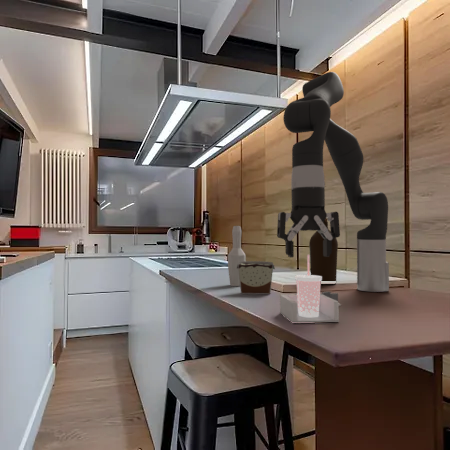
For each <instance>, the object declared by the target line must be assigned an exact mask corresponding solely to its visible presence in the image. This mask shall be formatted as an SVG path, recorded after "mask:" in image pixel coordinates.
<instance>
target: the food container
mask: <svg viewBox="0 0 450 450" xmlns="http://www.w3.org/2000/svg"><path fill="white" fill-rule="evenodd" d="M236 269H239V279H240V286H239V287H240V294H243V295H244V294H245V295H246V294H247V295H271V290H272V280H273V271H274V270H276V266H275V264H274V262H272V261H266V260H265V261H263V260H261V261H260V260H258V261H257V260H251V261H250V260H249V261H248V260H246V261H244V262H238V264H237V268H236Z"/></svg>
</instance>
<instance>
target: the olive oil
mask: <svg viewBox="0 0 450 450" xmlns="http://www.w3.org/2000/svg"><path fill="white" fill-rule="evenodd" d="M323 224H324V225H325V226H326V228H327V229H328V231H329V233H331V229H329V226H328V225H329V221H328V218H327V217H326V219H325V220H324V222H323ZM323 240H324V238H323V237H322V235H321V234H320V233H319V232H318V231H317V230H315V232H314V233H313V234H312V235H311V237H310V239H309V242H308V243H309V245H308V246H309V247H308V248H309V255H310V275H317V276H322V281H336V282H337V274H338V273H337V272H338V271H337V270H338V269H337V268H338V252H339V251H338V248H339V244H338V243H339V242H338V239H337V238H334V239H333V240H332V253H331V254H330V256H329V257H325V256H323Z"/></svg>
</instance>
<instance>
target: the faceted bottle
mask: <svg viewBox="0 0 450 450" xmlns="http://www.w3.org/2000/svg"><path fill="white" fill-rule="evenodd" d="M231 232H232V235H231V236H232V248H231V249H230V251H229V253H228V254H227V268H228V276H229V286H231V287H240V279H239V269H236V268H237V264H238V262H244V261H247V260H246V259H247V256H246V253H245V252H244V250H243V249H242V232H243V231H242V227H241V226H240V225H233V227H232V230H231Z"/></svg>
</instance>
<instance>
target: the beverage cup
mask: <svg viewBox="0 0 450 450" xmlns="http://www.w3.org/2000/svg"><path fill="white" fill-rule="evenodd" d="M306 256H307V257H306V258H307V263H306V264H307V274H297V275H295V276H294V278H295V281H296V294H297V298H298V314H299V316H302V317H318V316H319V302H320V294H321V286H322V285H321V281H322V276H317V275H311V272H310V268H311V267H310V254H307V255H306Z"/></svg>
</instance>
